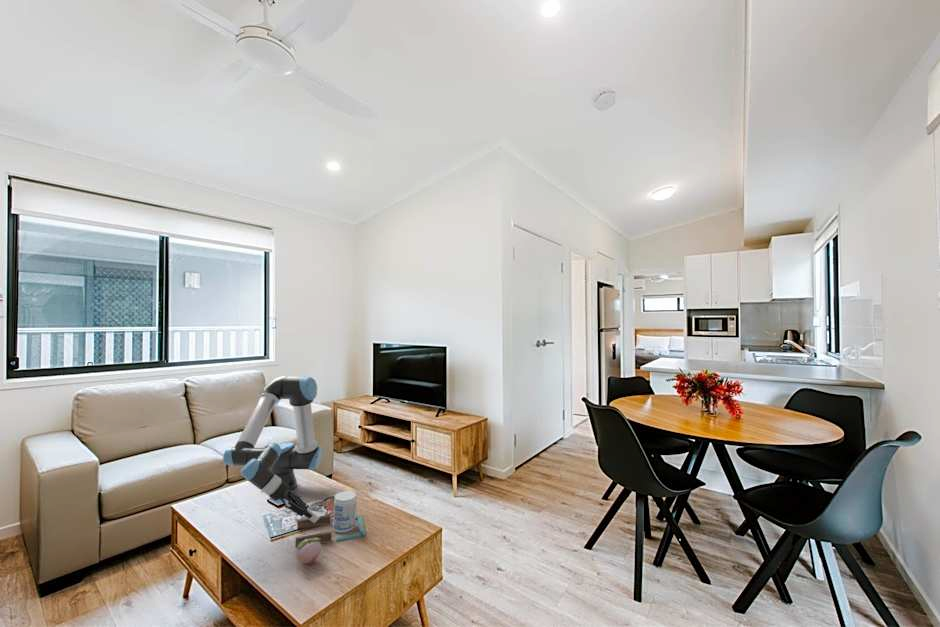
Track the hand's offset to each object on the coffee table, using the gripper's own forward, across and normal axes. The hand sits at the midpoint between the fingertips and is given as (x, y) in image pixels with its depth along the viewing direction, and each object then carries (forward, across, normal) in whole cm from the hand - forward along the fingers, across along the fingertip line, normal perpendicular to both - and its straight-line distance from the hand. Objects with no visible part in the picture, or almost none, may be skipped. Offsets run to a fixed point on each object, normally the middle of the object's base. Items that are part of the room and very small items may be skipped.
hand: (316, 520), depth 171 cm
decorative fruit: (+2, +20, -7) cm, 21 cm away
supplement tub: (+13, -1, +4) cm, 13 cm away
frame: (+13, 0, +5) cm, 14 cm away
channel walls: (+4, 0, -5) cm, 6 cm away
